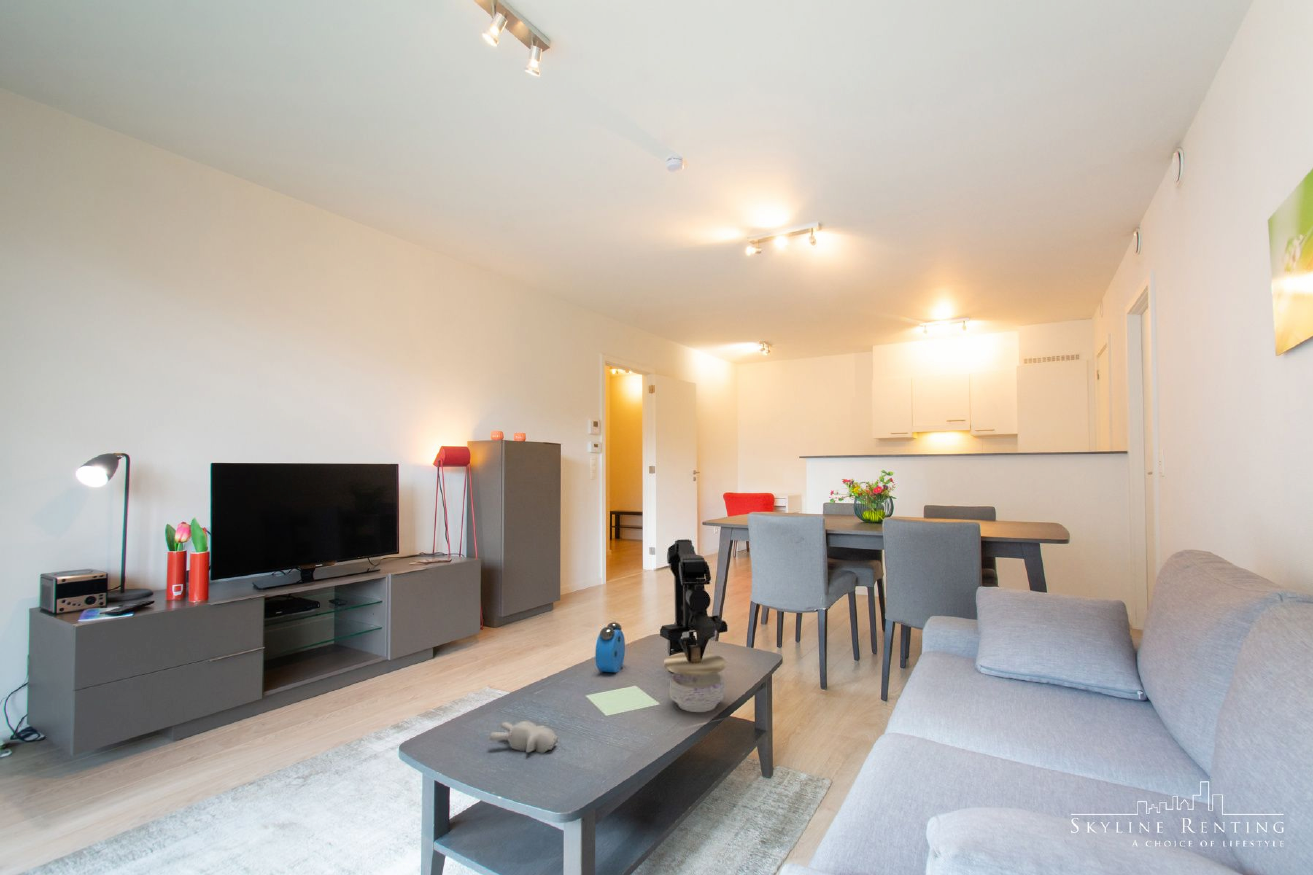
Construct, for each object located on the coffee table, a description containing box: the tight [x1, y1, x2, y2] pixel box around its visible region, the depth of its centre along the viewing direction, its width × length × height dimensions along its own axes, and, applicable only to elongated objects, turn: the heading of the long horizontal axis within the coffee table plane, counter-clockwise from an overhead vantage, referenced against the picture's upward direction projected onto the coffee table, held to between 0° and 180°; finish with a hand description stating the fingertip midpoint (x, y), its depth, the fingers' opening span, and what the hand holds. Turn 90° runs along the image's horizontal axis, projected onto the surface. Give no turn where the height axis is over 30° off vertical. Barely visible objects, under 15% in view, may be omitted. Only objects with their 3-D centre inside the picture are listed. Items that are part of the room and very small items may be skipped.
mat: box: [585, 685, 661, 717], centre depth 168 cm, size 16×16×1 cm
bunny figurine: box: [489, 720, 559, 754], centre depth 142 cm, size 10×5×15 cm
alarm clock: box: [594, 621, 626, 674], centre depth 194 cm, size 13×6×15 cm, turn 165°
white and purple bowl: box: [669, 672, 726, 713], centre depth 165 cm, size 15×15×8 cm
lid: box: [663, 645, 727, 675], centre depth 165 cm, size 17×17×5 cm
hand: (694, 660), depth 165 cm, fingers closed on lid, 3 cm apart
